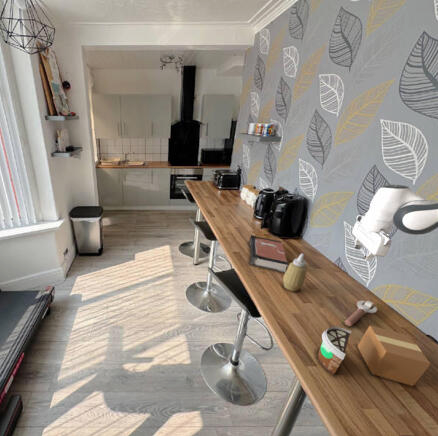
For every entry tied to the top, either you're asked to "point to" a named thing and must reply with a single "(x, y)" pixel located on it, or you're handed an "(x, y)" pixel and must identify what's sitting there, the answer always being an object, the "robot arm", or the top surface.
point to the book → (267, 254)
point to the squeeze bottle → (295, 274)
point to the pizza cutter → (360, 312)
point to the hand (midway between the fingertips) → (361, 254)
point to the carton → (392, 355)
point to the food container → (333, 347)
